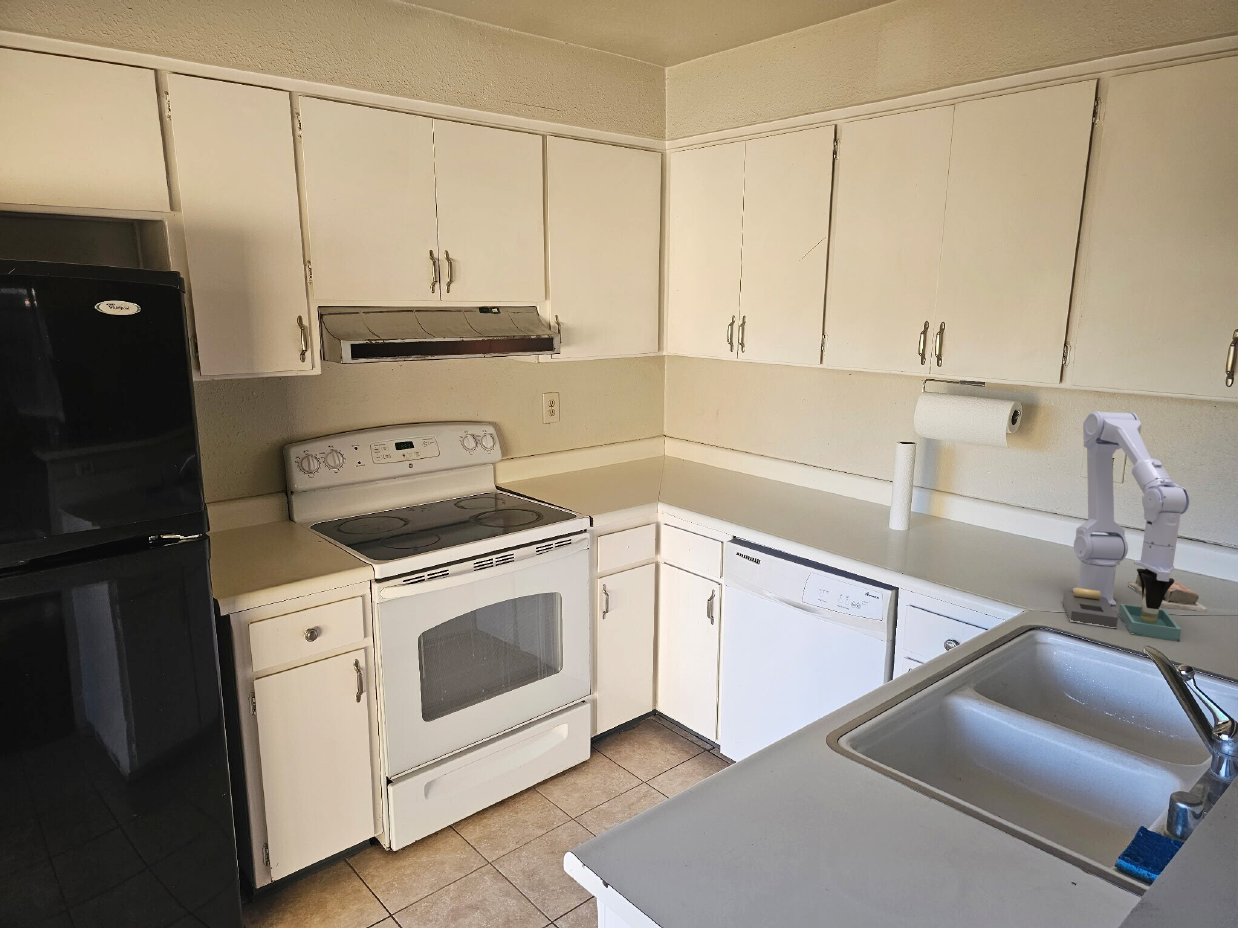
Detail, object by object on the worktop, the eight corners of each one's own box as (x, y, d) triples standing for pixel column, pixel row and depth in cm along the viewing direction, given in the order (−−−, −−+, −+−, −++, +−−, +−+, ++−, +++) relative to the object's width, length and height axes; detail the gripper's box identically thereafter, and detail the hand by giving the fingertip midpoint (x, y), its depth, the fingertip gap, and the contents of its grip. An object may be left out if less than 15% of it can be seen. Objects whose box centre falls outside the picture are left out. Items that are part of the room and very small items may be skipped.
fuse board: (1062, 601, 188) (1064, 583, 187) (1104, 607, 184) (1107, 588, 184) (1070, 622, 173) (1073, 601, 172) (1116, 629, 170) (1119, 608, 169)
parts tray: (1118, 614, 180) (1120, 603, 180) (1163, 621, 177) (1165, 609, 176) (1130, 633, 167) (1132, 622, 167) (1179, 641, 164) (1181, 629, 164)
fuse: (1139, 617, 174) (1143, 585, 173) (1155, 619, 172) (1159, 587, 171) (1141, 621, 171) (1146, 589, 170) (1158, 623, 170) (1163, 591, 169)
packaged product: (1128, 568, 203) (1172, 572, 202) (1126, 587, 204) (1169, 591, 202) (1162, 589, 186) (1210, 593, 184) (1159, 609, 187) (1207, 614, 185)
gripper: (1130, 533, 177) (1122, 593, 179) (1144, 547, 164) (1135, 612, 166) (1168, 538, 175) (1160, 598, 177) (1185, 552, 162) (1175, 618, 163)
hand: (1150, 605), depth 171 cm, fingers closed on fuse, 3 cm apart
